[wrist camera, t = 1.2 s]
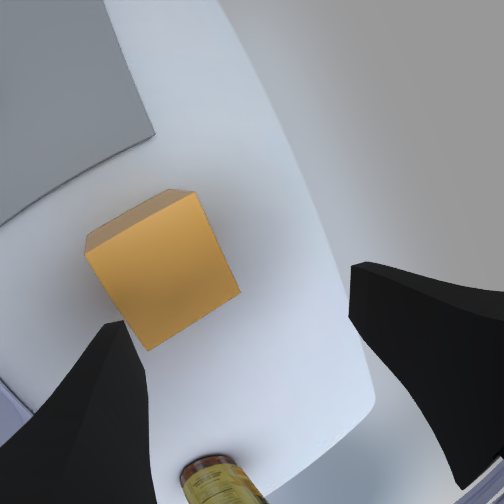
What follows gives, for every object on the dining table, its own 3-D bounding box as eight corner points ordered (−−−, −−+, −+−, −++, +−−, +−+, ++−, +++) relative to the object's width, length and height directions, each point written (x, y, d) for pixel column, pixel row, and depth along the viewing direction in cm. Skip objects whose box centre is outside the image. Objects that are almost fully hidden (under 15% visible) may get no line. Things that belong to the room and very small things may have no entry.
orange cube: (132, 311, 18) (147, 351, 14) (87, 234, 16) (84, 254, 11) (205, 267, 20) (241, 292, 15) (168, 189, 17) (195, 192, 13)
